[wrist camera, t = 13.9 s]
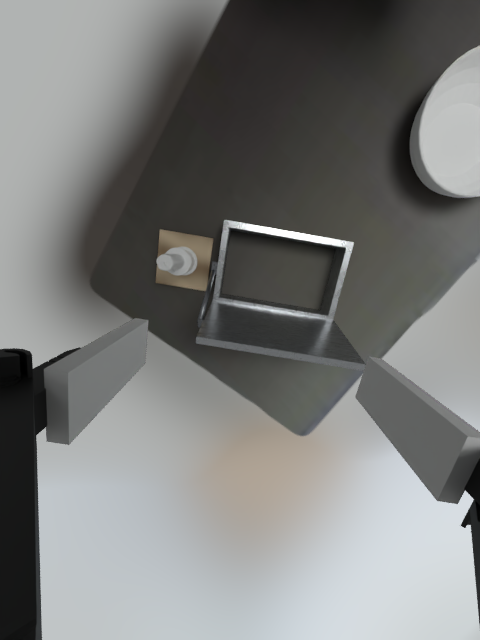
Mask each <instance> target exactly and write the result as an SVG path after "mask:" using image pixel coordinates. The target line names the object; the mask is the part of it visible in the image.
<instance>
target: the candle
mask: <svg viewBox="0 0 480 640" xmlns="http://www.w3.org/2000/svg"><path fill="white" fill-rule="evenodd" d="M156 262H157V265H158V268H159V269H160V270H163V271H168V272H169V273H171V274H173V275H177V276H179V275H189V274H191V273H193V272H194V270H195V269H196V267H197V257H196V254H195V253H194V252H193V251H192V250H191V249H190V248H188V247H178V248H171V249H169V250H168V251H167V252H166V253H165V254H162V255H160V256H159V257H158V258H157V260H156Z"/></svg>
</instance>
